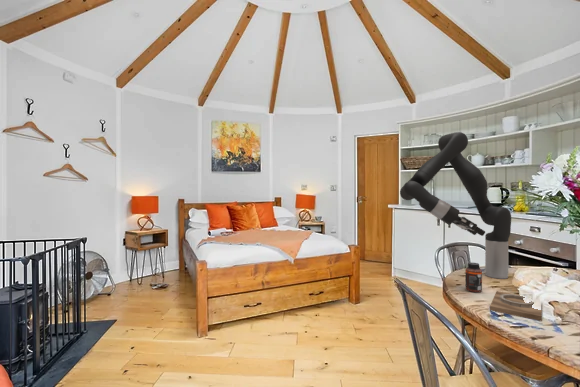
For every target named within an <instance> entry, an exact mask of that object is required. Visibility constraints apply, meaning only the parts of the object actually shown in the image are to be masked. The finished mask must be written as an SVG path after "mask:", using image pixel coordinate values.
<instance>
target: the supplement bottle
mask: <svg viewBox="0 0 580 387" xmlns="http://www.w3.org/2000/svg"><path fill="white" fill-rule="evenodd" d="M464 272H465V273H464V274H465V275H464V276H465V277H464V278H465V280H464V282H465V290H466V291H468V292H471V293H481V292H482V291H483V270H482V269H481V268H480V264H479V263H478V262H473V261H472V262H471V261H470V262H468V263H467V267H465V271H464Z"/></svg>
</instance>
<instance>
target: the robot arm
mask: <svg viewBox="0 0 580 387" xmlns="http://www.w3.org/2000/svg"><path fill="white" fill-rule="evenodd" d="M437 142H438V143H437V144H438V149H439V150H440V152H438V153H437V154H435V155H434V156H432V157H431V158H429V159H428V160H427V161H425V162H424V163H423V164H422V165H421V166H420V167H419V168H418V169H417V170H416V171H415V173H414V174H413V176H412V177H411V178H410V179H409V180H408V181H406V182H405V183H404V184H403V186H402V187H401V189H399V190H400V191H399V195H400V197H401V198H402V199H403V201H404V200H405V201H412V200H416V201H417V202H418V206H420V207H421V208H422V209H423V210H425V211H426V212H428V213H430V214H432V215H433V217H435V218H437V219H439V220H440V221H442V222H443V223H445V224H446V225H448V226H449V225H451V224H453V225H455V226H457V227H458V228H460V229H461V230H464V231H466V232H469V233H470V234H472V235H474V236H476V235H477V234H478V235H479V236H482V237H483V236H484V235H485V240H484V241H485V243H484V244H485V246H484V247H485V250H484V252H485V253H484V254H485V256H484V261H485V262H484V263H485V265H484V273H485V274H484V275H485V276H486V277H489V278H492V279H501V280H502V279H508V278H509V239H510V236H511V230H512V229H511V228H512V227H511V226H512V214H511V211H510V210H509V209H508V208H506V207H505V206H504V207H502V206H494V205H493V204H492V203H491V201H490V200H489V198H488V181H487V179H486V177H485V176H484V174H483V172H482V171H481V169H479V168H478V167H477V166H476V165H474V164H473V163H472V162H470V161H469V160H467V158H465V157H464V156H463V155H462V152H463V151H464V150H466V149H467V147H468V145H469V139H468V137H467V134H465V133H464V132H461V131H460V132H459V131H457V132H452V133H448V134H444V135H442V136H441V137H439V139H438V141H437ZM447 164H450V165H451V167H452V169H453V170H454V172H455V173H456V175H457V176H458V178H459V180H460V182H461V183H462V185H463V187H464V188H465V189H466V191H467V193H468V195H469V196H470V198H471V200H472V202H473V204H474V205H475V207H476V210H477V212H478V214H479V216H480V219H481V220H482V222H483V223H484V224H486V225H488V226H492V227H493V229H492V231H490V232H487V233H486V231H485V230H484V229H482V228H480V227H479V226H478V224H477V223H475V222H473V221H471V220H469V219H468V218H466V217H465V216H460V215H459V214H460V212H461V211H460V210H459V209H458V208H456V207H454V206H453V205H452V204H450V203H448V202H446V201H444V200H442V199H440V198H438V197H437V196H436V195H434V194H432V193H431V192H429V190H428V189H426V188H425V186H426V185H428V184H429V183H430V182H431V181H432V179H433V178H434V177H435V176H436V175H437V174H438V173H439V172H440V171H441V170H442V169H443V168H444V167H445V166H447Z"/></svg>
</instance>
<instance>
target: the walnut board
mask: <svg viewBox="0 0 580 387" xmlns="http://www.w3.org/2000/svg"><path fill="white" fill-rule="evenodd" d="M520 295H521V294H518V293H511V292H506V291H505V292H504V291H499V290H496V291H495V293H494V296H493V298H492V301H491V303H490V305H489V311H491V310H492V312H497V313H501V314H502V313H503V314H507V315H510V316H511V315H512V316H515V317H522V318H527V319H531V320H536V321H541V322H542V320H543V319H542V316H543V315H542V311H543V309H542V310H538V309H534V308H532V305H533V304H534V302H532V301H531V302H529V303H525V302H524V300H523V298H525V297H523V296H520Z"/></svg>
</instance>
